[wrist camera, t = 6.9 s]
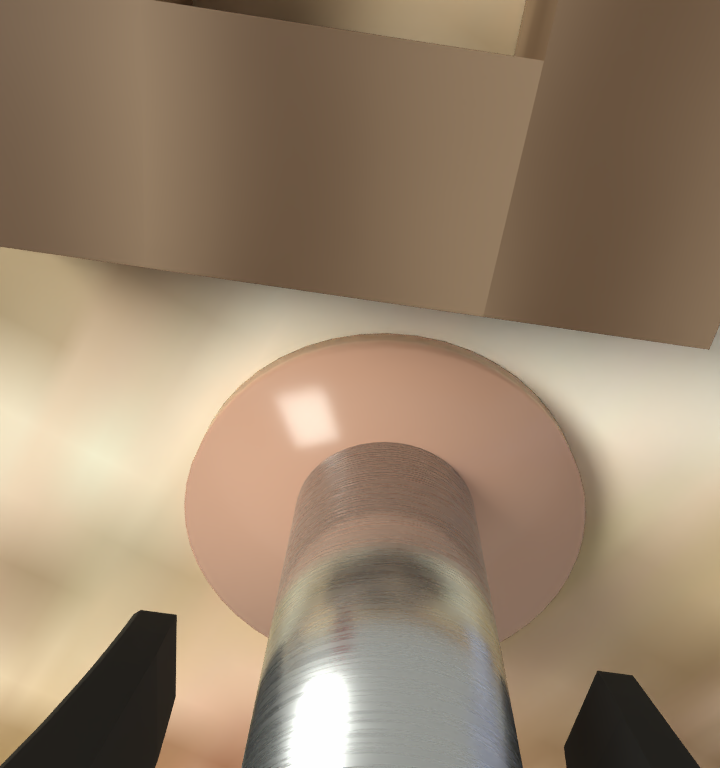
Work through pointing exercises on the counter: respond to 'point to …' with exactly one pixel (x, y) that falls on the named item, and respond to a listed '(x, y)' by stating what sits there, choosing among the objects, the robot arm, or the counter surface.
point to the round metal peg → (383, 625)
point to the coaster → (385, 424)
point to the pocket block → (379, 157)
